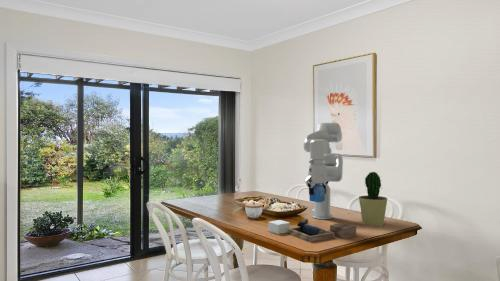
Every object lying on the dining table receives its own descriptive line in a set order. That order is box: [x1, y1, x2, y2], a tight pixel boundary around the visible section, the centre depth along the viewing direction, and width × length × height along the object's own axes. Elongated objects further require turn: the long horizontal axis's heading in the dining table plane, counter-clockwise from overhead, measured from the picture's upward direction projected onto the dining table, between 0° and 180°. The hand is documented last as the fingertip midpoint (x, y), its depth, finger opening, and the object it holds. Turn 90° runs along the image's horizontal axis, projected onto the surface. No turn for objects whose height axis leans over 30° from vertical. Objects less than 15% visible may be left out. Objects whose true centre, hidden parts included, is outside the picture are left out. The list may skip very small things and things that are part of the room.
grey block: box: [267, 219, 291, 235], centre depth 191 cm, size 8×8×5 cm
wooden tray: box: [287, 226, 336, 243], centre depth 183 cm, size 18×15×2 cm
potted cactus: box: [358, 171, 388, 227], centre depth 208 cm, size 15×15×30 cm
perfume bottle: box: [308, 183, 325, 203], centre depth 202 cm, size 6×6×12 cm
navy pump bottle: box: [296, 218, 323, 236], centre depth 185 cm, size 9×8×12 cm
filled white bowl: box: [244, 201, 263, 219], centre depth 226 cm, size 11×11×9 cm
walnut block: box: [329, 222, 357, 240], centre depth 182 cm, size 9×9×5 cm
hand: (317, 193), depth 202 cm, fingers closed on perfume bottle, 8 cm apart
